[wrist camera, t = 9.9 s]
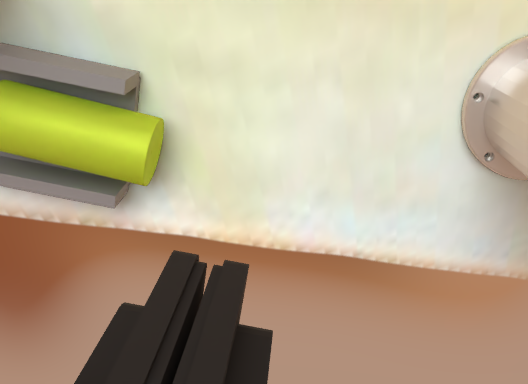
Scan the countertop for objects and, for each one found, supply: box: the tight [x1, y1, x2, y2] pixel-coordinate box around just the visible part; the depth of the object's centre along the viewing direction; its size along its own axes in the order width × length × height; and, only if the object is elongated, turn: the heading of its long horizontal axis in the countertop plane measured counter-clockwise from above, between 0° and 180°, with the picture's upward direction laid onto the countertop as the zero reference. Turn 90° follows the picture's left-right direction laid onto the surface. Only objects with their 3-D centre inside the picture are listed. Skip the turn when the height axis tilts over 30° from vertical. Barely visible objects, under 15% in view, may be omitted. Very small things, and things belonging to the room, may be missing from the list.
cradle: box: [0, 43, 140, 208], centre depth 43 cm, size 13×11×4 cm
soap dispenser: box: [0, 80, 164, 186], centre depth 42 cm, size 6×7×20 cm
